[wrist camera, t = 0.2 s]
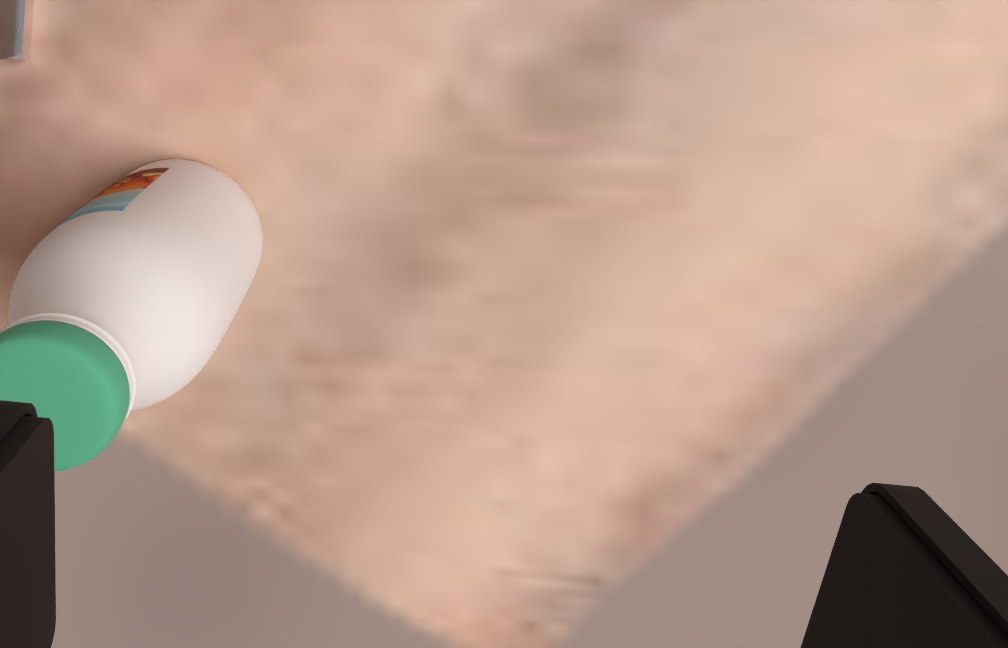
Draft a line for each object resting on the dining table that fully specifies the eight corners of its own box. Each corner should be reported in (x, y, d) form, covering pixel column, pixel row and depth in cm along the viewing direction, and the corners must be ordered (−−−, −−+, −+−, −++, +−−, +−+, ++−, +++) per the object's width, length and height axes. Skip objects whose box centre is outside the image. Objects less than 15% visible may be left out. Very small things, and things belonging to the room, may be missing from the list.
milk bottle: (244, 144, 45) (128, 264, 26) (281, 292, 48) (200, 496, 29) (84, 170, 45) (-147, 311, 26) (131, 318, 47) (-48, 541, 29)
